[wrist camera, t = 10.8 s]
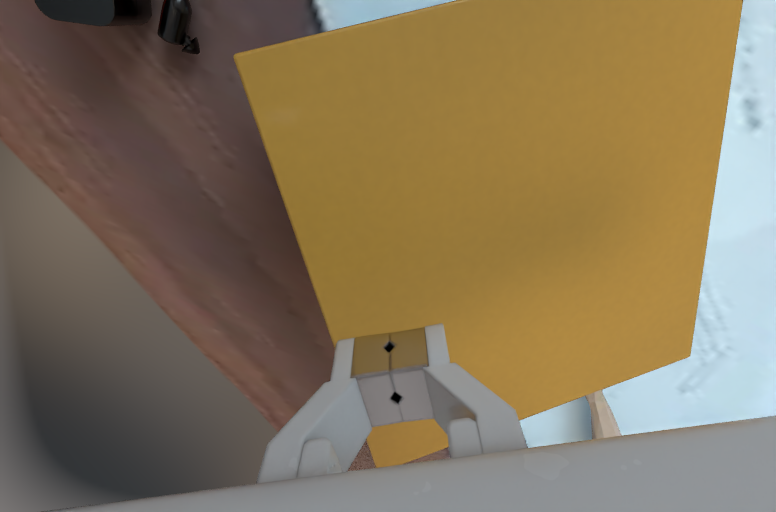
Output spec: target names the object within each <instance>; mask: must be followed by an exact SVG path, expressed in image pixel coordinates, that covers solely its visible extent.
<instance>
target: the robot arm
mask: <svg viewBox="0 0 776 512" xmlns="http://www.w3.org/2000/svg"><path fill="white" fill-rule="evenodd" d="M426 419H435V421H436V422H437V423H438V425H439V426H440V427H441V428H442V429H443V431H444V432H445V433H446V434H447V435H448V443H449V452H450V458H448V459H440V460H432V461H425V462H417V463H409V464H402V465H394V466H387V467H379V468H371V469H364V470H356V471H349V472H347V471H348V469H349V467H350V466H351V464H352V462H353V461H354V459H355V457H356V456H357V454H358V452H359V451H360V449H361V447H362V446H363V444H364V442H365V441H366V439H367V437H368V436H369V434H370V432H371V431H372V427H377V426H383V425H389V424H395V423H401V422H409V421H418V420H426ZM43 512H776V416H769V417H761V418H754V419H746V420H738V421H731V422H723V423H715V424H708V425H700V426H692V427H685V428H677V429H670V430H662V431H654V432H647V433H639V434H631V435H624V436H616V437H608V438H601V439H593V440H586V441H578V442H571V443H563V444H556V445H548V446H541V447H533V448H528V447H527V444H526V441H525V438H524V435H523V432H522V429H521V426H520V422H519V419H518V416H517V413H516V410H515V409H514V408H512V407H511V406H510V405H509V404H507V403H506V402H505V401H504V400H502V399H501V398H500V397H499V396H497V395H496V394H495V393H493V392H492V391H491V390H490V389H488V388H487V387H486V386H485V385H483V384H482V383H481V382H480V381H478V380H477V379H476V378H474V377H473V376H472V375H471V374H469V373H468V372H467V371H466V370H464V369H463V368H462V367H461V366H459V365H458V364H457V363H450V358H449V353H448V347H447V342H446V336H445V331H444V325H443V324H442V323H439V324H434V325H429V326H425V327H421V328H415V329H409V330H403V331H397V332H391V333H390V332H389V333H382V334H375V335H368V336H361V337H356V338H348V339H341V340H338V341H337V343H336V348H335V354H334V360H333V366H332V372H331V378H330V382H325V383H324V384H323V385H322V386H321V387H320V388H319V389H318V390H317V391H316V392H315V394H314V395H313V396H312V397H311V398H310V399H309V400H308V401H307V402H306V403H305V404H304V405H303V406H302V407H301V408H300V410H299V411H298V412H297V413H296V414H295V415H294V416H293V417H292V418H291V419H290V420H289V421H288V422H287V423H286V425H285V426H284V427H283V428H282V429H281V430H280V431H279V432H278V433H277V434H276V435H275V436H274V438H273V439H272V440H271V441H270V442H269V443H268V444H267V447H266V450H265V454H264V458H263V461H262V464H261V468H260V471H259V475H258V478H257V482H256V484H250V485H242V486H234V487H227V488H219V489H211V490H204V491H196V492H188V493H181V494H173V495H166V496H158V497H150V498H143V499H135V500H127V501H119V502H112V503H105V504H96V505H89V506H81V507H73V508H66V509H58V510H50V511H43Z"/></svg>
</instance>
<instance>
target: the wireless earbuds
mask: <svg viewBox="0 0 776 512" xmlns="http://www.w3.org/2000/svg"><path fill="white" fill-rule="evenodd" d="M35 3H36V5H37V6H38V8H39V9H40V10H41V11H42V12H43V13H44V14H45V15H46V16H48V17H49V18H51V19H54V20H59V21H66V22H73V23H80V24H88V25H95V26H126V25H143V24H145V23H147V22H148V21H149V20H150V18H151V16H152V8H151V0H35ZM191 14H192V9H191V5H190V2H189V0H164V1H163V5H162V10H161V16H160V22H159V27H158V35H159V37H161V38H162V39H163V40H165V41H166V42H168V43H170V44H174V45H182V46H184V45H185V47H184V48H183V49H182V52H185V53H190V54H199V53H200V48H199V43H198V39H197V37H195V38H194V39H193V40H190V37H189V36H188V35H187V34H188V29H189V24H190V19H191Z"/></svg>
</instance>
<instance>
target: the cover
mask: <svg viewBox="0 0 776 512" xmlns="http://www.w3.org/2000/svg"><path fill="white" fill-rule="evenodd" d="M742 4H743V0H456V1H452V2H448V3H444V4H439V5H435V6H431V7H427V8H423V9H419V10H415V11H410V12H406V13H402V14H398V15H394V16H390V17H386V18H381V19H377V20H373V21H369V22H365V23H361V24H357V25H352V26H348V27H344V28H340V29H336V30H332V31H328V32H323V33H319V34H315V35H311V36H307V37H303V38H299V39H294V40H290V41H286V42H282V43H278V44H274V45H270V46H265V47H261V48H257V49H253V50H249V51H245V52H241V53H236V54H235V55H234V61H235V64H236V67H237V69H238V72H239V75H240V78H241V81H242V84H243V87H244V90H245V92H246V95H247V98H248V101H249V104H250V107H251V110H252V113H253V115H254V118H255V121H256V124H257V127H258V130H259V133H260V136H261V138H262V141H263V144H264V147H265V150H266V153H267V156H268V159H269V161H270V164H271V167H272V170H273V173H274V176H275V179H276V182H277V184H278V187H279V190H280V193H281V196H282V199H283V202H284V205H285V207H286V210H287V213H288V216H289V219H290V222H291V225H292V228H293V230H294V233H295V236H296V239H297V242H298V245H299V248H300V251H301V253H302V256H303V259H304V262H305V265H306V268H307V271H308V274H309V276H310V279H311V282H312V285H313V288H314V291H315V294H316V297H317V299H318V302H319V305H320V308H321V311H322V314H323V317H324V320H325V322H326V325H327V328H328V331H329V334H330V337H331V340H332V343H333V345H334V348H336V343H337V341H338V340H341V339H348V338H356V337H361V336H368V335H375V334H382V333H389V332H390V333H391V332H397V331H403V330H409V329H415V328H421V327H425V326H429V325H434V324H439V323H442V324H443V325H444V331H445V336H446V342H447V347H448V353H449V358H450V363H457V364H458V365H459V366H461V367H462V368H463V369H464V370H466V371H467V372H468V373H469V374H471V375H472V376H473V377H474V378H476V379H477V380H478V381H480V382H481V383H482V384H483V385H485V386H486V387H487V388H488V389H490V390H491V391H492V392H493V393H495V394H496V395H497V396H499V397H500V398H501V399H502V400H504V401H505V402H506V403H507V404H509V405H510V406H511V407H512V408H514V409H515V410H516V413H517V416H518V419H519V420H522V419H524V418H527V417H530V416H532V415H535V414H538V413H540V412H543V411H546V410H548V409H551V408H554V407H556V406H559V405H562V404H564V403H567V402H570V401H572V400H575V399H578V398H581V397H583V396H586V395H589V394H591V393H594V392H597V391H599V390H602V389H605V388H607V387H610V386H613V385H615V384H618V383H621V382H623V381H626V380H629V379H631V378H634V377H637V376H639V375H642V374H645V373H647V372H650V371H653V370H655V369H658V368H661V367H663V366H666V365H669V364H671V363H674V362H677V361H679V360H682V359H685V358H687V357H689V356H690V354H691V347H692V340H693V334H694V327H695V320H696V313H697V307H698V300H699V293H700V286H701V280H702V273H703V266H704V259H705V253H706V246H707V239H708V233H709V226H710V219H711V212H712V206H713V199H714V192H715V185H716V179H717V172H718V165H719V159H720V152H721V145H722V138H723V132H724V125H725V118H726V111H727V105H728V98H729V91H730V85H731V78H732V71H733V64H734V58H735V51H736V44H737V37H738V31H739V24H740V17H741V10H742ZM366 440H367V443H368V446H369V449H370V452H371V455H372V458H373V460H374V463H375V466H376V468H379V467H387V466H394V465H402V464H404V463H407V462H410V461H412V460H415V459H418V458H420V457H423V456H426V455H428V454H431V453H434V452H436V451H439V450H442V449H444V448H447V447H449V443H448V435H447V434H446V433H445V432H444V431H443V429H442V428H441V427H440V426H439V425H438V423H437V422H436V421H435V419H426V420H418V421H409V422H401V423H395V424H389V425H383V426H377V427H372V431H371V432H370V434H369V436H368V437H367V439H366Z"/></svg>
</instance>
